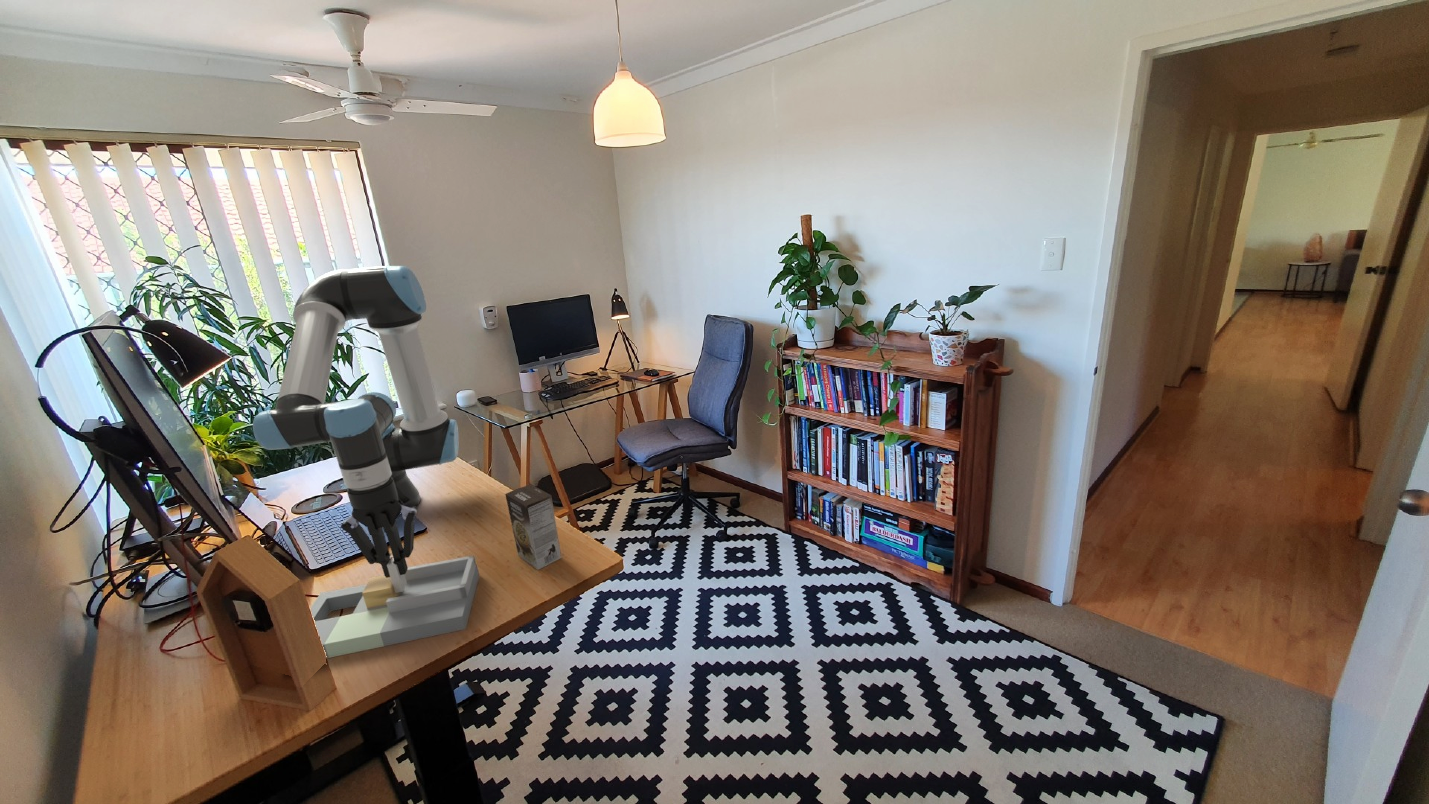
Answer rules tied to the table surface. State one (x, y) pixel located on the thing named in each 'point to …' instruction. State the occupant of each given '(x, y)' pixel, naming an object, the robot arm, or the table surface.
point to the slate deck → (400, 609)
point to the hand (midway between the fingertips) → (401, 588)
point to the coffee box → (534, 525)
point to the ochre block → (378, 591)
